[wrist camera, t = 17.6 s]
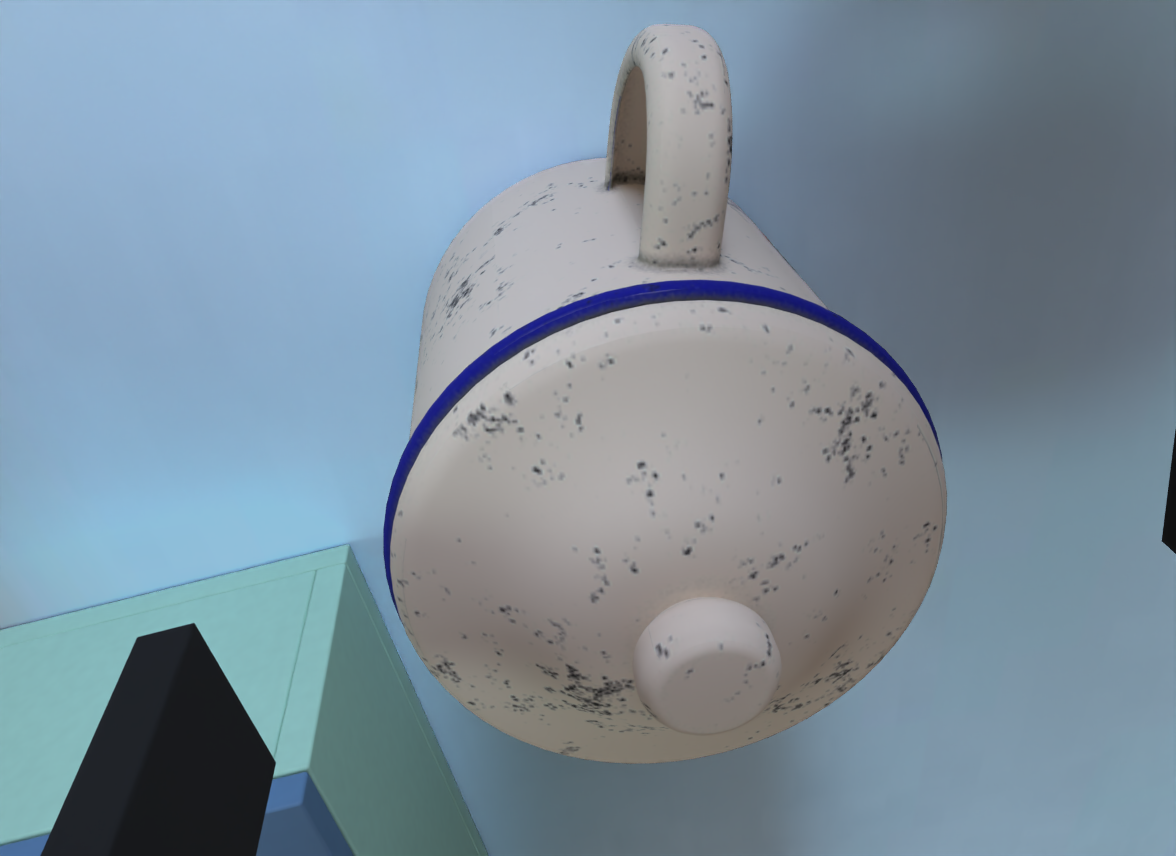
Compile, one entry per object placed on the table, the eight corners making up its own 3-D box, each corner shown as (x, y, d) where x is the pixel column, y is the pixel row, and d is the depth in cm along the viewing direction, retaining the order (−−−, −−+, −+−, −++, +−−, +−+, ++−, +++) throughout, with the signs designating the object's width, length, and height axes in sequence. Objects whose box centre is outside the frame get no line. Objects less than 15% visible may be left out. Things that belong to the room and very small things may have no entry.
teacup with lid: (759, 489, 25) (952, 885, 15) (418, 494, 24) (381, 926, 14) (844, 5, 19) (1257, 126, 9) (398, -19, 18) (309, 91, 8)
